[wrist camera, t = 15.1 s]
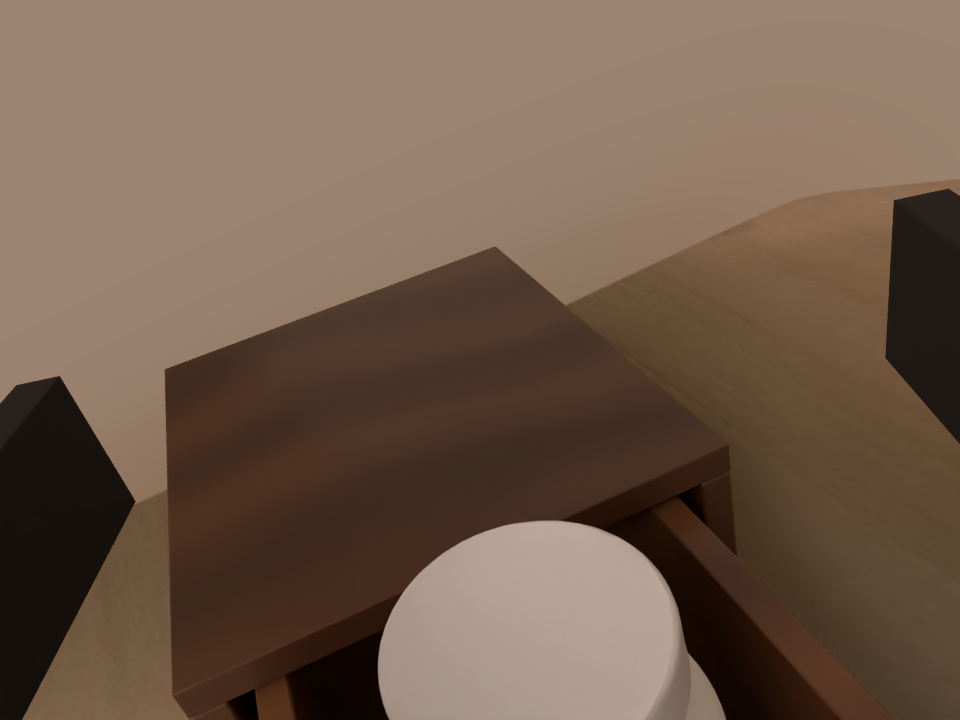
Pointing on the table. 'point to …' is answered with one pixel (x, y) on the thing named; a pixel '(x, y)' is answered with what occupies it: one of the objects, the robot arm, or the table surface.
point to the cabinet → (396, 463)
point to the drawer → (706, 629)
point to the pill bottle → (540, 634)
